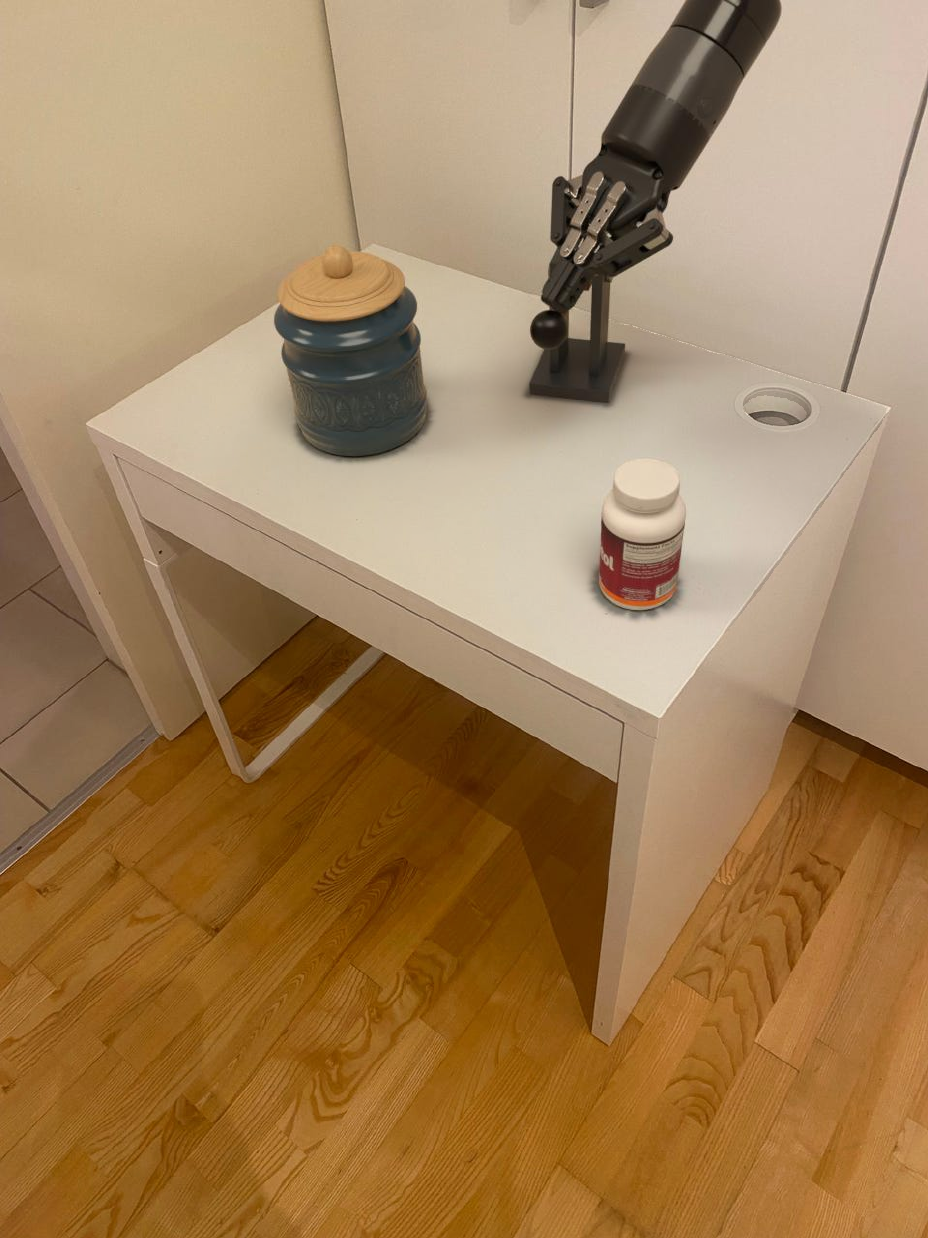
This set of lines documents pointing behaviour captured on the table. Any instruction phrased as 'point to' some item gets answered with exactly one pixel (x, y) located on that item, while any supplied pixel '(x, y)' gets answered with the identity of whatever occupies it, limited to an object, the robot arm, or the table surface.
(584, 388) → the bracket
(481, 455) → the table surface
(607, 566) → the pill bottle
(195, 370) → the table surface
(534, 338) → the lever
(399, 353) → the canister
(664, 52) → the robot arm
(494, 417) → the table surface
